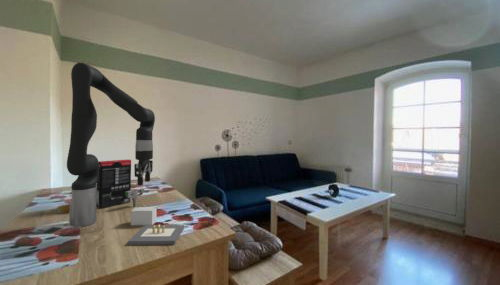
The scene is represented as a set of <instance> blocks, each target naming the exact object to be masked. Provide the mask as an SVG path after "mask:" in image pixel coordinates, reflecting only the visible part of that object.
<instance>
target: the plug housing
mask: <svg viewBox="0 0 500 285" xmlns="http://www.w3.org/2000/svg"><path fill="white" fill-rule="evenodd" d="M156 222H157V206H155V207H154V206H148V207H147V206H141V207H140V206H138V207H137V206H136V207H133V209H131V210H130V225H131V226H145V225H155V223H156Z"/></svg>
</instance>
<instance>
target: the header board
mask: <svg viewBox="0 0 500 285" xmlns="http://www.w3.org/2000/svg"><path fill="white" fill-rule="evenodd" d="M153 225H155V224H153ZM153 225H142V227H141V228H140V229H139V230H138V231H137V232H136V233H135V234H133V236H132V237H131V238H130V239H129V240H128V241H127V245H128V246H138V245H139V246H143V245H144V246H145V245H146V246H148V245H149V246H152V245H153V246H154V245H155V246H157V245H168V246H169V245H176V243H177V241H178V240H179V238H180V236H181V234H182V233H183V231H184V229H185V224H179V225H177V224H174V225H173V224H172V225H171V224H170V225H169V224H168V225H167V224H164V225H165V232H164V233H162V225H163V224H156V225H155V233H152V228H153ZM158 225H160V232H159V233H157V226H158Z"/></svg>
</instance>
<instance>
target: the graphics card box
mask: <svg viewBox="0 0 500 285" xmlns="http://www.w3.org/2000/svg"><path fill="white" fill-rule="evenodd" d="M98 162H99V175H98V181H97V183H96V208H99V209H105V208H108V207H113V206H118V205H122V204H127V203H130V202H131V198H128V197H126V195H125V192H126V191H130V190H132V189H131V188H132V186H131V183H132V181H131V180H132V159H117V160H116V159H114V160H101V161H99V160H98Z"/></svg>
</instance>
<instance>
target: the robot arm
mask: <svg viewBox="0 0 500 285" xmlns="http://www.w3.org/2000/svg"><path fill="white" fill-rule="evenodd" d="M70 75H71V88H72V89H71V90H72V91H71V92H72V101H71V102H72V107H71V108H72V109H71V118H70V119H71V123H70V124H71V125H70V127H71V128H70V139H69V140H70V141H69V148H68V153H67V160H66V169H67V171H68V173H70V174H71V175H72V176H77V178H76V179H75V180H74V181H73V182H72V183H71V204H72V205H70V206H69V213H68V214H69V221H68V222H69V226H70V227H73V228H81V227H87V226H90V225H93V224H94V223H96V222H97V206H96V189H97V181H98V175H99V160H98V158H97V156H96V155H95V154H92V153H91V154H90V153H88V146H89V143H90V141H91V140H92V137H93V136H94V134H95V133H96V130H97V124H98V122H97V120H98V119H97V118H98V114H97V110H96V107H95V105H94V103H93V99H92V96H91V87H92V88H94V89H96V90H98V91H100V92H102V93H104V95H105V96H107V97H108V98H109V99H110V100H111V101H112V102H113V103H114V104H115V105H116V106H118V108H121V109H122V110H123V111H124V112H126V113H127V114H128V115H129V116H130V118H133V119H134V120H135V121H136V122H139V127H138V128H137V129H136V130H135V131H136V133H135V135H136V136H135V153H134V154H135V160H137V161H138V162H137V163H134V165H133V166H134V167H133V168H134V177H136V178H137V186H143V185H144V182H147V183H148V182H151V175H152V172H153V170H154V169H153V168H154V167H153V164H154V162H153V160H152V159H153V158H154V154H153V153H154V144H153V131H154V127H155V121H156V119H155V118H156V116H155V113H154V112H153V110H152V109H149V108H146V107H144V106H142V105H141V104H139V103H138V101H137V100H136V99H135V98H134V97H132V96H130V95H129V94H128V93H126V92H125V91H123V90H122V89H120V88H119V87H118V86H116V85H115V84H114V83H113V82H111V80H109V79H108V78H107V77H106V76H105V75H104V74H103V73H102V72H101V71H100V70H99V69H97V68H96V67H93V66H91V65H90V64H87V63H85V62H77V63H75V64H74V65H73V66H72V69H71V74H70Z"/></svg>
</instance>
